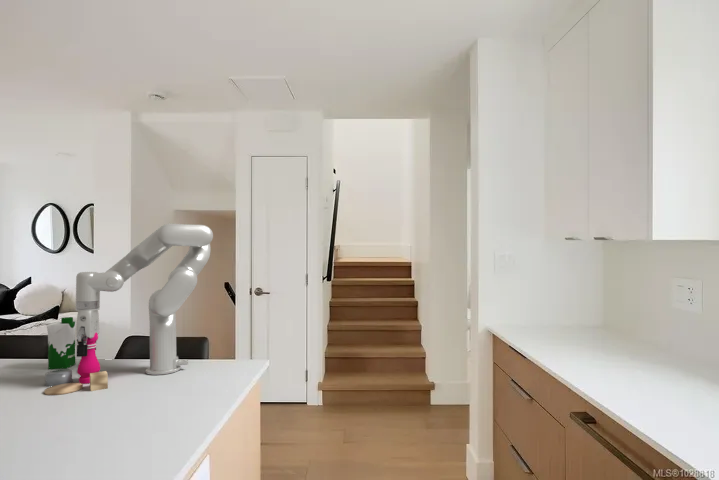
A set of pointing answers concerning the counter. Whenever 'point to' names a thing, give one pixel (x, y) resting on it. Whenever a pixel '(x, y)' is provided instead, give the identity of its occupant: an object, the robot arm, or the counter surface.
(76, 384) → the cork trivet
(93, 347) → the pepper mill
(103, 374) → the oak block
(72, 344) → the milk carton
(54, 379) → the grey rounded dome
